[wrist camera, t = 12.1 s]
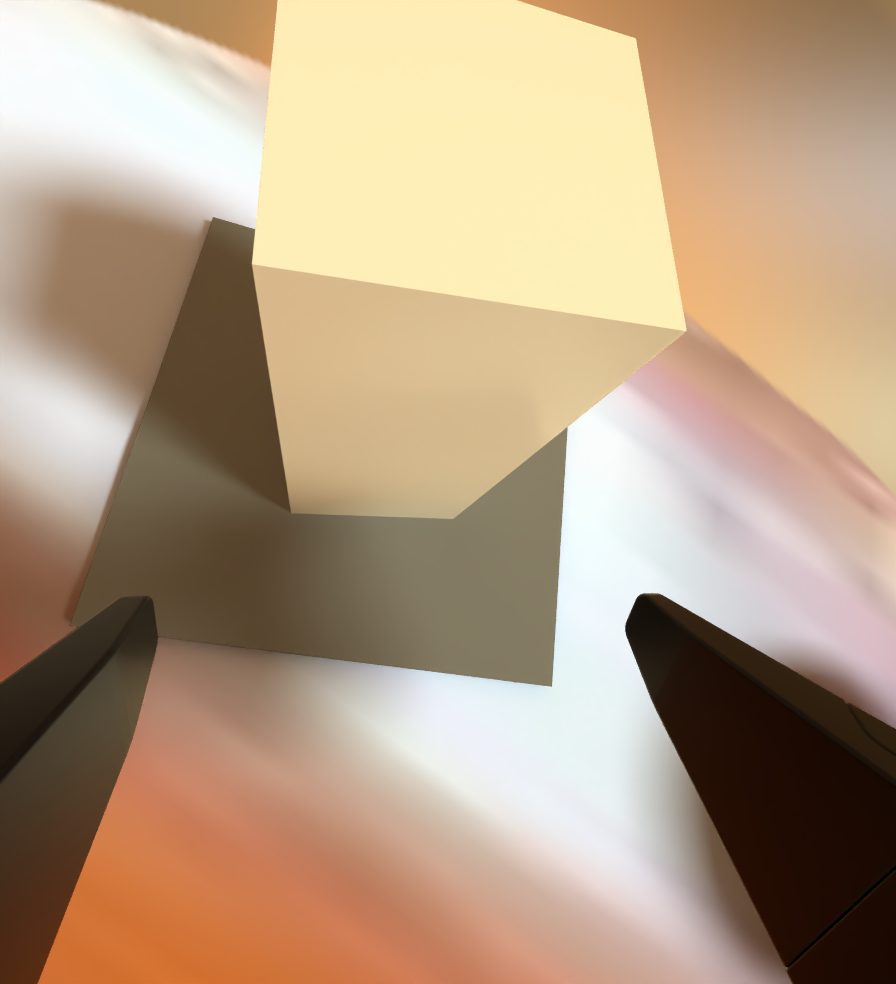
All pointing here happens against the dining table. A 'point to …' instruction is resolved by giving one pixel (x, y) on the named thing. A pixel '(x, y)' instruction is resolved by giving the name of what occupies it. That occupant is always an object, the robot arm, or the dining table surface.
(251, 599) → the mat
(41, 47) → the dining table surface
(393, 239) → the tall cream pillar
